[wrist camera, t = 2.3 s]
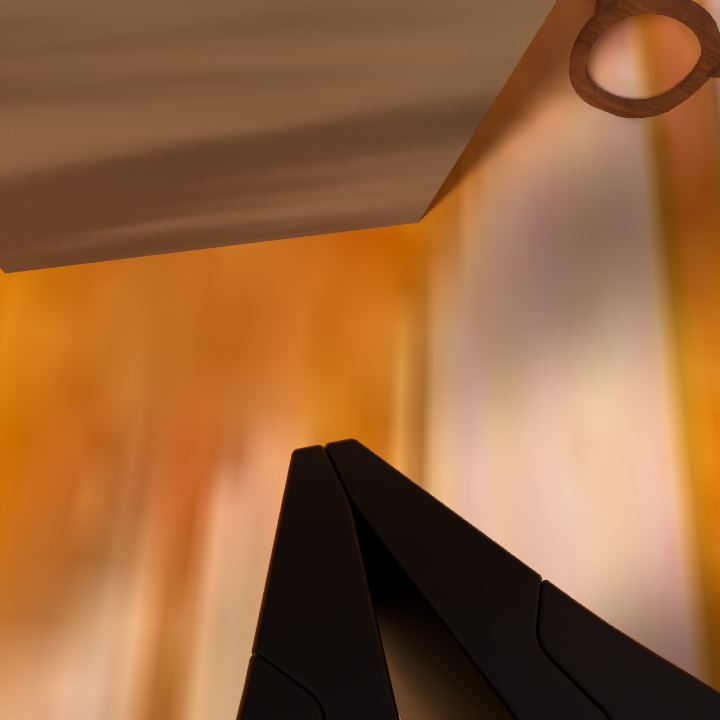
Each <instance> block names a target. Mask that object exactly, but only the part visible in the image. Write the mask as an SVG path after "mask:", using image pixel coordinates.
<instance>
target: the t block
mask: <svg viewBox="0 0 720 720" xmlns="http://www.w3.org/2000/svg"><path fill="white" fill-rule="evenodd" d="M556 2H557V0H0V268H1V269H2V270H3V271H4V272H5V273H11V272H19V271H27V270H35V269H43V268H51V267H60V266H68V265H76V264H84V263H92V262H100V261H108V260H116V259H125V258H133V257H141V256H149V255H157V254H165V253H173V252H181V251H190V250H198V249H206V248H214V247H222V246H230V245H238V244H246V243H255V242H263V241H271V240H279V239H287V238H295V237H303V236H311V235H320V234H328V233H336V232H344V231H352V230H360V229H368V228H376V227H385V226H393V225H401V224H409V223H417V222H419V221H420V219H421V218H422V216H423V215H424V213H425V211H426V210H427V208H428V207H429V205H430V203H431V202H432V200H433V199H434V197H435V195H436V194H437V192H438V191H439V189H440V187H441V186H442V184H443V183H444V181H445V179H446V178H447V176H448V175H449V173H450V171H451V170H452V168H453V167H454V165H455V163H456V162H457V160H458V159H459V157H460V155H461V154H462V152H463V151H464V149H465V147H466V146H467V144H468V143H469V141H470V139H471V138H472V136H473V135H474V133H475V131H476V130H477V128H478V127H479V125H480V123H481V122H482V120H483V119H484V117H485V115H486V114H487V112H488V111H489V109H490V107H491V106H492V104H493V103H494V101H495V99H496V98H497V96H498V95H499V93H500V91H501V90H502V88H503V87H504V85H505V83H506V82H507V80H508V79H509V77H510V75H511V74H512V72H513V71H514V69H515V67H516V66H517V64H518V63H519V61H520V59H521V58H522V56H523V55H524V53H525V51H526V50H527V48H528V47H529V45H530V43H531V42H532V40H533V39H534V37H535V35H536V34H537V32H538V31H539V29H540V27H541V26H542V24H543V23H544V21H545V19H546V18H547V16H548V15H549V13H550V11H551V10H552V8H553V7H554V5H555V3H556Z"/></svg>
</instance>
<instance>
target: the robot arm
mask: <svg viewBox="0 0 720 720" xmlns="http://www.w3.org/2000/svg"><path fill="white" fill-rule="evenodd" d="M398 713H399V714H398ZM399 715H400V718H401V720H720V692H719V691H718V690H716V689H714V688H713V687H711V686H709V685H708V684H706V683H704V682H703V681H701V680H699V679H698V678H696V677H694V676H693V675H691V674H689V673H688V672H686V671H685V670H683V669H681V668H680V667H678V666H676V665H675V664H673V663H671V662H670V661H668V660H666V659H665V658H663V657H661V656H660V655H658V654H656V653H655V652H653V651H651V650H650V649H648V648H647V647H645V646H643V645H642V644H640V643H639V642H637V641H635V640H634V639H632V638H631V637H629V636H628V635H626V634H624V633H623V632H621V631H620V630H618V629H616V628H615V627H613V626H612V625H610V624H609V623H607V622H606V621H604V620H603V619H601V618H600V617H599V616H597V615H596V614H594V613H593V612H591V611H590V610H589V609H587V608H586V607H584V606H583V605H581V604H580V603H578V602H577V601H576V600H574V599H573V598H571V597H570V596H569V595H567V594H566V593H564V592H563V591H562V590H560V589H559V588H558V587H556V586H555V585H554V584H552V583H551V582H550V581H548V580H543V581H542V577H541V575H540V574H538V573H537V572H536V571H534V570H533V569H531V568H530V567H529V566H527V565H526V564H525V563H523V562H522V561H521V560H519V559H518V558H516V557H515V556H514V555H512V554H511V553H510V552H508V551H507V550H506V549H504V548H503V547H502V546H500V545H499V544H497V543H496V542H495V541H493V540H492V539H491V538H489V537H488V536H487V535H485V534H484V533H482V532H481V531H480V530H478V529H477V528H476V527H474V526H473V525H472V524H470V523H469V522H468V521H466V520H465V519H463V518H462V517H461V516H459V515H458V514H457V513H455V512H454V511H453V510H451V509H450V508H448V507H447V506H446V505H444V504H443V503H442V502H440V501H439V500H438V499H436V498H435V497H434V496H432V495H431V494H429V493H428V492H427V491H425V490H424V489H423V488H421V487H420V486H419V485H417V484H416V483H414V482H413V481H412V480H410V479H409V478H408V477H406V476H405V475H404V474H402V473H401V472H400V471H398V470H397V469H395V468H394V467H393V466H391V465H390V464H389V463H387V462H386V461H385V460H383V459H382V458H380V457H379V456H378V455H376V454H375V453H374V452H372V451H371V450H370V449H368V448H367V447H366V446H364V445H363V444H361V443H360V442H359V441H357V440H355V439H345V440H340V441H335V442H330V443H327V444H326V445H325V447H323V446H321V445H315V446H309V447H304V448H299V449H295V450H294V451H293V453H292V455H291V460H290V465H289V470H288V475H287V480H286V485H285V490H284V494H283V499H282V504H281V509H280V514H279V519H278V524H277V529H276V534H275V539H274V544H273V549H272V554H271V559H270V563H269V568H268V573H267V578H266V583H265V588H264V593H263V598H262V603H261V608H260V613H259V618H258V623H257V628H256V632H255V637H254V642H253V647H252V656H251V657H250V660H249V665H248V670H247V675H246V679H245V684H244V689H243V693H242V697H241V701H240V705H239V710H238V714H237V718H236V720H400V719H399Z"/></svg>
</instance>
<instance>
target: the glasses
mask: <svg viewBox="0 0 720 720" xmlns="http://www.w3.org/2000/svg"><path fill="white" fill-rule="evenodd" d="M638 14H658V15H665V16H668V17H671V18H674V19H676V20H678V21H680V22H682V23H684V24H685V25H687V26H688V27H689V28H690V29H691V30H692V31H693V32H694V33H695V35H696V36H697V37H698V40H699V42H700V45H701V56H700V58H699V60H698V62H697V64H696V65H695V67H694V68H693V70H692V71H691V72H690V73H689V74H688V75H687V76H686V77H685V78H684V79H683V80H682V81H681V82H680V83H679V84H677V85H676V86H675V87H674V88H672V89H671V90H669V91H667V92H666V93H664V94H662V95H659V96H656V97H654V98H648V99H626V98H621V97H617V96H614V95H611V94H609V93H607V92H605V91H604V90H602V89H601V88H599V87H598V86H597V85H596V84H595V83H594V82H593V81H592V80H591V78H590V76H589V74H588V72H587V68H586V59H587V56H588V53H589V51H590V49H591V48H592V46H593V44H594V43H595V41H596V40H597V39H598V37H599V36H600V35H601V34H602V33H603V32H604V31H605V30H606V29H607V28H609V27H610V26H612V25H613V24H615V23H616V22H618V21H620V20H622V19H624V18H627V17H629V16H634V15H638ZM569 75H570V80H571V84H572V86H573V87H574V89H575V91H576V93H577V94H578V95H579V96H580V97H581V98H582V99H583V100H584V101H585V102H587V103H588V104H590V105H591V106H593V107H596V108H598V109H601V110H604V111H606V112H609V113H611V114H614V115H616V116H620V117H626V118H645V117H652V116H657V115H659V114H662V113H665V112H668V111H670V110H671V109H673V108H674V107H676V106H678V105H679V104H681V103H682V102H684V101H685V100H686V99H687V98H689V97H690V96H691V95H692V94H694V93H695V92H696V91H697V90H698V89H699V88H700V87H701V86H702V85H703V84H704V83H705V82H706V81H707V80H708V79H709V78H710V77H715V78H720V33H719V30H718V27H717V25H716V22H715V21H714V19H713V18H712V17H711V15H710V14H709V12H707V11H706V10H705V9H704V8H703V7H701V6H700V5H699V4H697V3H696V2H694V1H692V0H596V6H595V13H594V15H593V16H592V17H591V18H590V19H589V20H588V22H587V23H586V24H585V26H584V27H583V28H582V30H581V31H580V33H579V35H578V37H577V39H576V41H575V43H574V46H573V49H572V52H571V57H570V66H569Z"/></svg>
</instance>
